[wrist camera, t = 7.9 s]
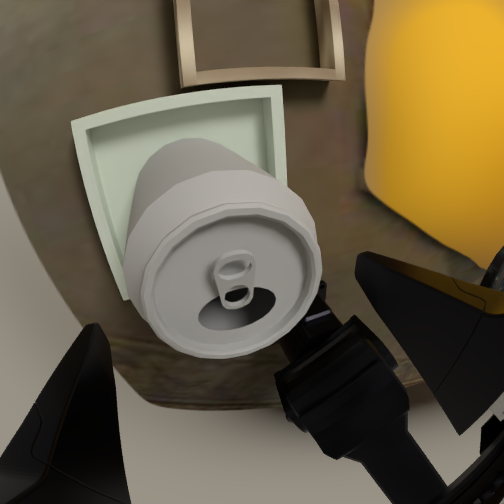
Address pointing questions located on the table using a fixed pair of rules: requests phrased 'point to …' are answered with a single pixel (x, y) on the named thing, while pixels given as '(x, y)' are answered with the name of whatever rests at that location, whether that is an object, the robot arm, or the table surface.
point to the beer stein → (495, 273)
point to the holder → (328, 69)
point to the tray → (164, 132)
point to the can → (218, 251)
